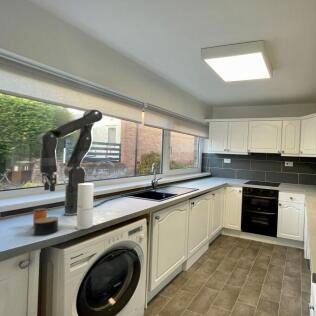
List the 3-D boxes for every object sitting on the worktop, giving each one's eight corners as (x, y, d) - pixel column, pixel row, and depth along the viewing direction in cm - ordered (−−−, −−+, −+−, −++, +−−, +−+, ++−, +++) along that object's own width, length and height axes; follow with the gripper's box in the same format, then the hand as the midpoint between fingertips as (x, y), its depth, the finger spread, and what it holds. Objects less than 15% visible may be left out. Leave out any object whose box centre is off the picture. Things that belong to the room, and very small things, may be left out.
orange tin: (43, 224, 114) (44, 207, 113) (48, 226, 111) (49, 208, 111) (30, 227, 109) (31, 209, 108) (35, 229, 106) (36, 211, 106)
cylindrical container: (82, 224, 116) (83, 182, 116) (95, 224, 117) (96, 183, 116) (73, 229, 109) (74, 184, 109) (86, 229, 110) (88, 185, 109)
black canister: (52, 227, 109) (52, 215, 109) (61, 231, 106) (61, 218, 106) (29, 233, 101) (30, 220, 101) (38, 237, 97) (39, 223, 97)
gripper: (61, 164, 121) (62, 190, 122) (51, 164, 128) (52, 188, 129) (45, 165, 115) (46, 192, 115) (35, 164, 121) (37, 190, 122)
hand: (49, 190), depth 122 cm, fingers open, 8 cm apart
